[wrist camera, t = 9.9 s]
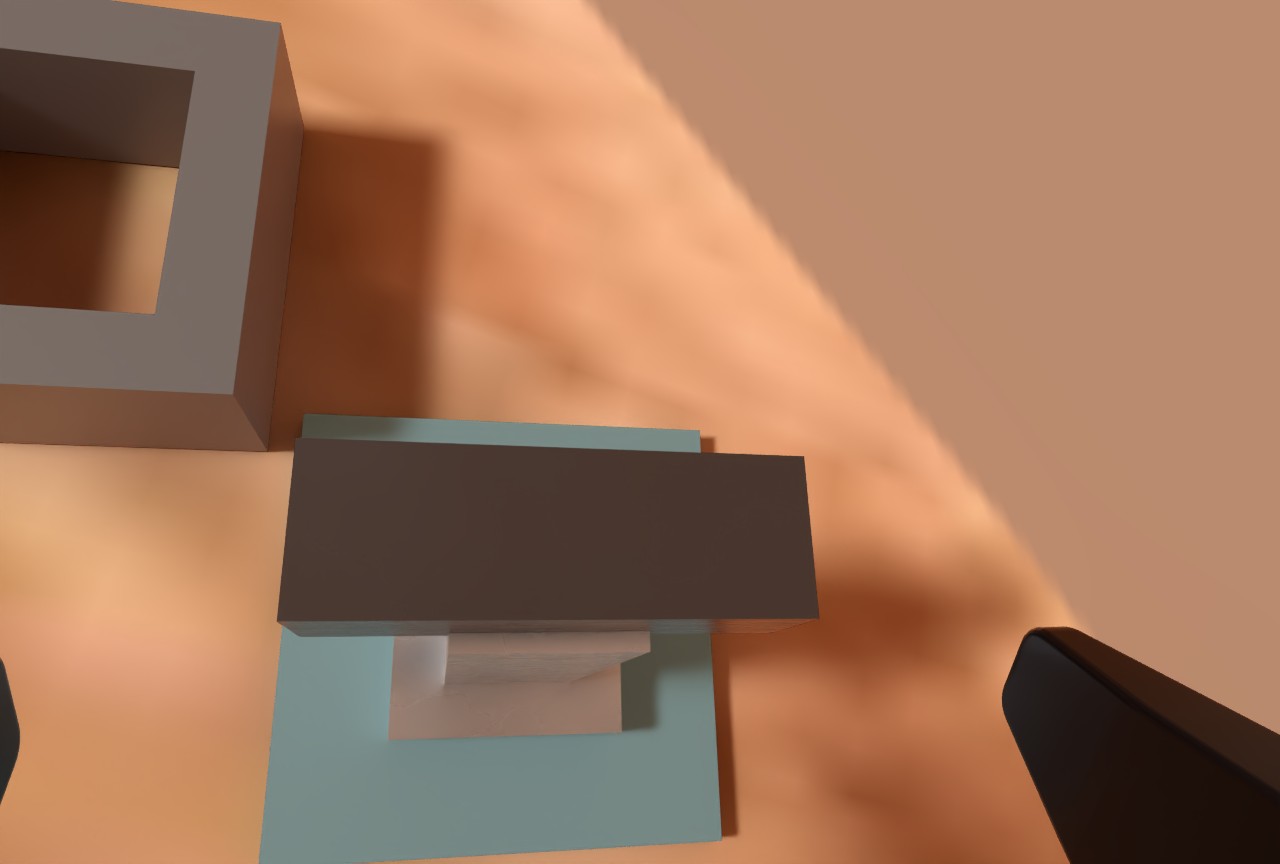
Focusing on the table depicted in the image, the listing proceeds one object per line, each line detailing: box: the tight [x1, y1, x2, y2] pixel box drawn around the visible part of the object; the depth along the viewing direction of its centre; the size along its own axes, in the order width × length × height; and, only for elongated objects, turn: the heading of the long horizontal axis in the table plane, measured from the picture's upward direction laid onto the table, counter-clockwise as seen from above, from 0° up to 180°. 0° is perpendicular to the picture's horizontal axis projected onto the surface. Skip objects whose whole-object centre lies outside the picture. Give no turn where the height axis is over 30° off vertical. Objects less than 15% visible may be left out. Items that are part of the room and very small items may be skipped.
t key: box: [277, 438, 819, 740], centre depth 14 cm, size 4×6×9 cm
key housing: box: [0, 0, 304, 452], centre depth 18 cm, size 8×8×4 cm
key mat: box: [259, 413, 722, 864], centre depth 19 cm, size 9×9×1 cm
